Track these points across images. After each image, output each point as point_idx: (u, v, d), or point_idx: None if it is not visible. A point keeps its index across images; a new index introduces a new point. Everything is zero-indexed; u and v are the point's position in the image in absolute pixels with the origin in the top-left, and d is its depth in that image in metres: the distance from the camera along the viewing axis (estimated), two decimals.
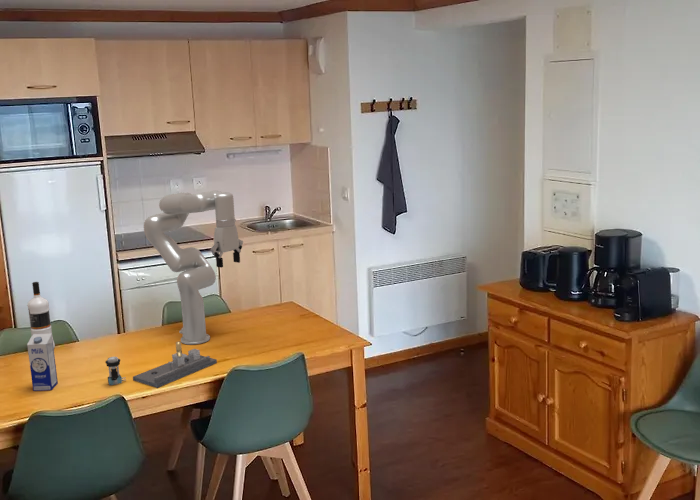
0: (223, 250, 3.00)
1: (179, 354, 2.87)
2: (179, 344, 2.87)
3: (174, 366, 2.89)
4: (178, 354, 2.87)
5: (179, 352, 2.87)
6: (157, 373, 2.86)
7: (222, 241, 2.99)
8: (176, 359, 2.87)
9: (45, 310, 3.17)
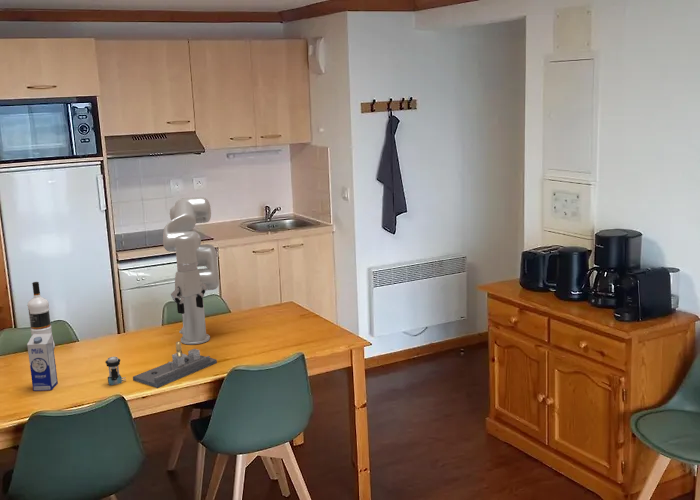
0: (184, 295, 2.85)
1: (179, 354, 2.87)
2: (179, 344, 2.87)
3: (174, 366, 2.89)
4: (178, 354, 2.87)
5: (179, 352, 2.87)
6: (157, 373, 2.86)
7: (183, 286, 2.84)
8: (176, 359, 2.87)
9: (45, 310, 3.17)
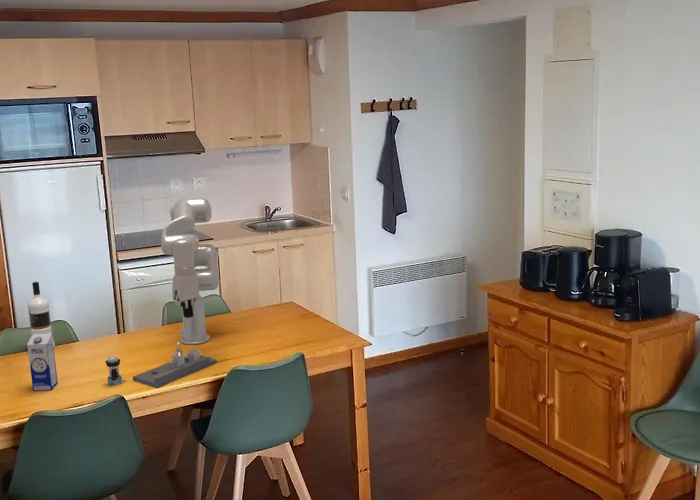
0: (182, 299, 2.84)
1: (179, 354, 2.87)
2: (179, 344, 2.87)
3: (174, 366, 2.89)
4: (178, 354, 2.87)
5: (179, 352, 2.87)
6: (157, 373, 2.86)
7: (180, 290, 2.83)
8: (176, 359, 2.87)
9: (45, 310, 3.17)
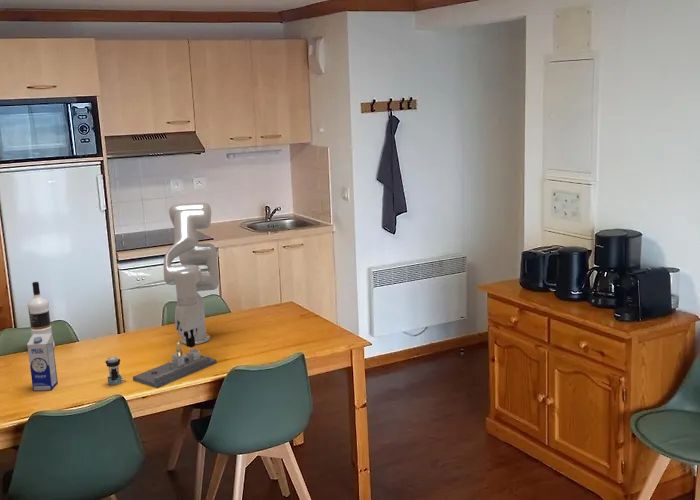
0: (184, 330, 2.86)
1: (179, 354, 2.87)
2: (179, 344, 2.87)
3: (174, 366, 2.89)
4: (178, 354, 2.87)
5: (179, 352, 2.87)
6: (157, 373, 2.86)
7: (183, 320, 2.85)
8: (176, 359, 2.87)
9: (45, 310, 3.17)
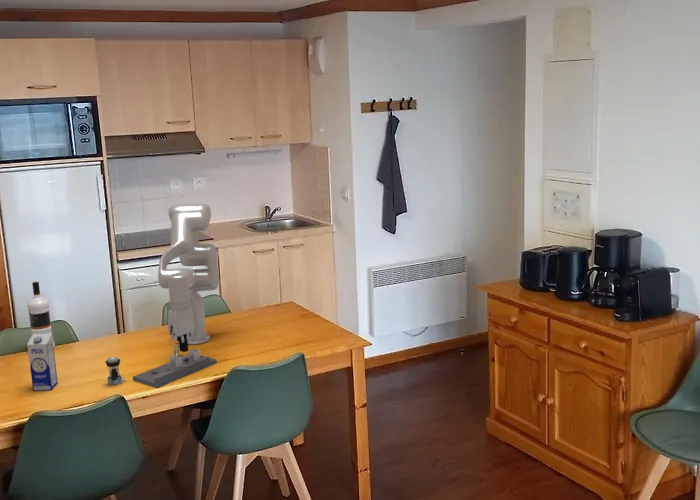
0: (177, 334, 2.84)
1: (177, 355, 2.86)
2: (177, 345, 2.86)
3: (172, 367, 2.88)
4: (176, 355, 2.86)
5: (176, 353, 2.86)
6: (157, 373, 2.86)
7: (176, 325, 2.83)
8: (174, 360, 2.86)
9: (45, 310, 3.17)
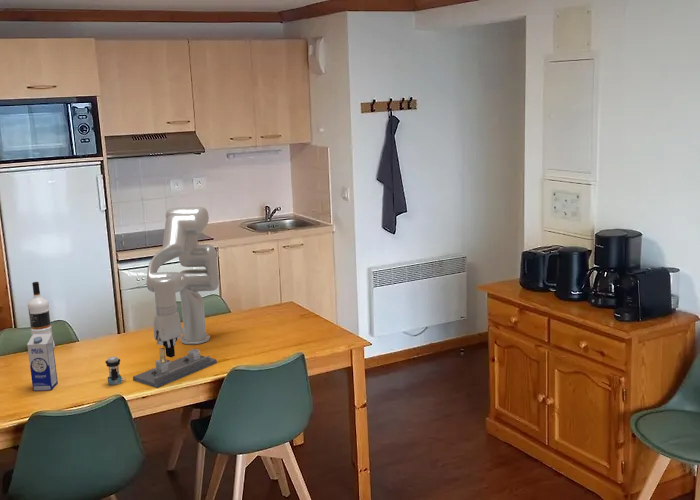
0: (163, 339, 2.79)
1: (163, 360, 2.81)
2: (163, 350, 2.80)
3: (158, 373, 2.83)
4: (162, 360, 2.81)
5: (162, 359, 2.81)
6: None
7: (162, 330, 2.78)
8: (160, 365, 2.81)
9: (45, 310, 3.17)
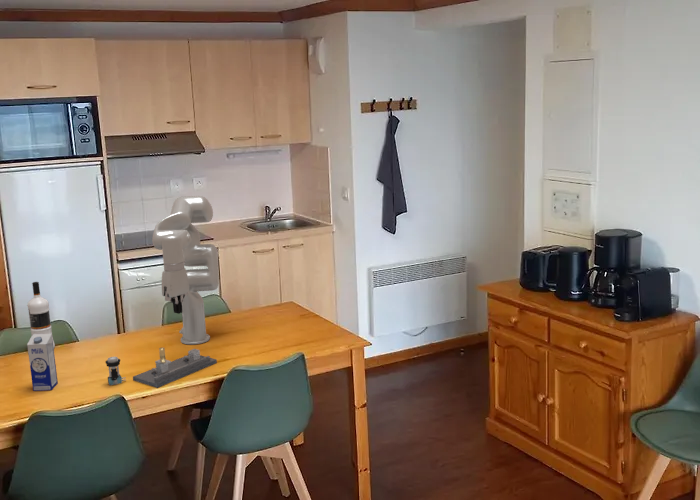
0: (171, 295, 2.82)
1: (163, 360, 2.81)
2: (163, 350, 2.80)
3: (158, 373, 2.83)
4: (162, 360, 2.81)
5: (162, 359, 2.81)
6: None
7: (170, 286, 2.81)
8: (159, 365, 2.81)
9: (45, 310, 3.17)
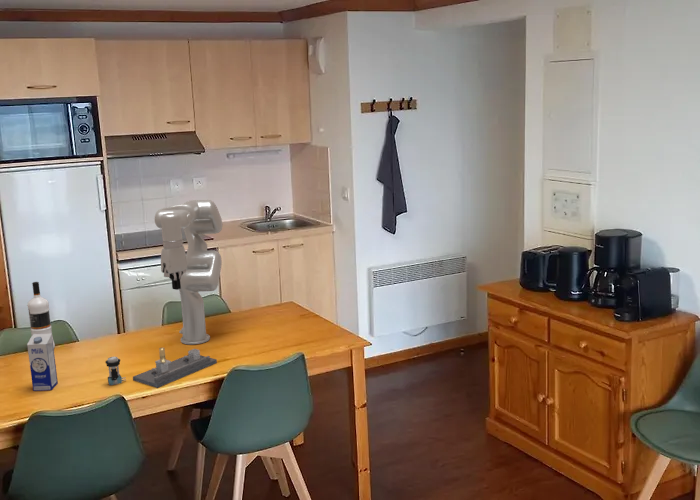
0: (170, 271, 2.95)
1: (163, 360, 2.81)
2: (163, 350, 2.80)
3: (158, 373, 2.83)
4: (162, 360, 2.81)
5: (162, 359, 2.81)
6: None
7: (169, 262, 2.94)
8: (159, 365, 2.81)
9: (45, 310, 3.17)
